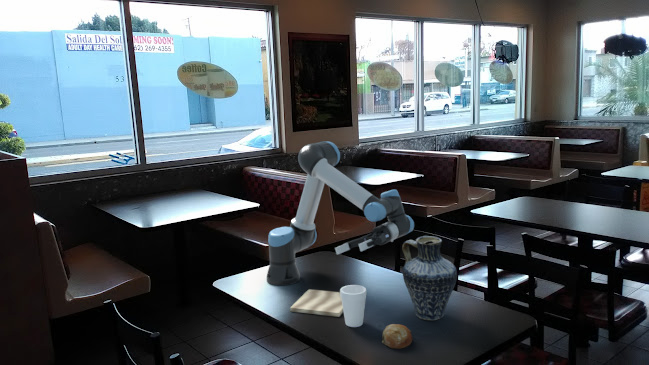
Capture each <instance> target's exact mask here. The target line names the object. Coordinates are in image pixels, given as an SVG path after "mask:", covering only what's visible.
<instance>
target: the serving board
mask: <svg viewBox="0 0 649 365" xmlns="http://www.w3.org/2000/svg"><path fill="white" fill-rule="evenodd" d="M307 289H308V288H307ZM290 312H294V313H304V314H311V315H312V314H313V315H319V316H328V317H338V318H340V317H341V315H342V314H344V311H343V305H342V299H341V296H340V291H331V290H319V289H310V288H309V289H308V290H307V291H305V292H304V293H303V295H302V296H300V297H299V298H298V299H297V300H296V301H295V302H294V303H293V304H292V306H290Z"/></svg>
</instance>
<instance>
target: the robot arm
mask: <svg viewBox="0 0 649 365" xmlns="http://www.w3.org/2000/svg"><path fill="white" fill-rule="evenodd" d="M340 159H341V152H340V150H339V147H338V146H337V145H336V144H335V143H333V142H332V141H325V140H324V141H320V142H314V143H309V144H306V145H304V146H303V147H302V148H301V149H300V150H299V153H298V157H297V160H298V163H299V166H300V168H301V169H302V170H303V171H304V172H305V173H306V174H307V175H306V179H305V182H304V185H303V190H302V193H301V197H300V201H299V205H298V208H297V211H296V215H295V217H293V218H292V219H291V221H290V225H289V226H281V227H276V228H274V229H272V230H270V231H269V233H268V240H267V241H268V242H267V243H268V253H269V254H268V255H269V266H268V270H267V273H266V282H267V283H268V284H270V285H274V286H288V285H293V284H295V283H297V282H299V281H300V280H301V274H300V270H299V268H298V266H297V264H296V253H298V252H302V251H303V250H305V249H308V248H310V247H311V246H312V245H314V243H315V242H316V240H317V237H318V234H317V231H316V223H314V221H315V219H316V215H317V211H318V208H319V205H320V201H321V198H322V193H323V191H324V187H325V185H327V186H328V187H329V188H331V189H333V190H334V191H335V192H337V193H338V194H339V195H341V196H342V197H344V198H345V199H346V200H348V201H349V202H350V203H352V204H353V205H355V206H356V207H357V208H359V209H360V210H361V211H363V214H364V216H365V218H366V219H367V220H368V221H370V222H378V221H382V220H384V219H385V218H387V220H388V221H387V222H385V223H382V224H380V225H378V226H376V227H373V229H372V231H371V233H368V234H367V235H363V236H362V237H361V236H360V237H359V238H356V239H353V240H349V241H347V242H343V244H341V245H338V246H337V247H334V250H335V254H336V255H340V254H342V253H344V252H350V250H351V249H354V248H356V247H359V251H360V252H363V251H366V250H367V249H370V248H372V247H375V246H377V245H379V246H383V245H385V244H388V243H389V242H391V243H393V242H394V240H396V239H398V238H401V237H403V236H406V235H408V234H409V233H411V232H413V230H414V228H415V222H414V220H413V219H412V216H409V215H407V214H406V213H405V208H404V205H403V202H402V199H401V196H400V194H399V192H398V190H397V189H391V190H388V191H387V190H386V191H384V192H382V193H381V194H380V198H378V197H377V196H375V195H374V194H372V193H371V192H370V191H368V190H367V189H365V188H364V187H363V186H361V185H359V184H358V183H357V182H356V181H354V180H352V179H351V178H350V177H348V176H347V175H345V174H344V173H342V172H341V171H340V170H339V169H338V168H335V167H336V165H338V163H339V162H340Z"/></svg>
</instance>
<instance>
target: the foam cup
mask: <svg viewBox="0 0 649 365" xmlns="http://www.w3.org/2000/svg"><path fill="white" fill-rule="evenodd" d="M339 292H340V296H341V299H342V305H343V316H344V322H345V325H346V326H348V327H351V328H357V327H358V328H359V327H361V326H362V325H363V324H364V315H365V306H366V299H367V298H366V297H367V288H366V287H365V286H363V285H361V284H360V285H358V284H350V285H349V284H348V285H345V286H341V288H340V289H339Z"/></svg>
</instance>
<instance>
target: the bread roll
mask: <svg viewBox="0 0 649 365" xmlns="http://www.w3.org/2000/svg"><path fill="white" fill-rule="evenodd" d="M412 333H413V332H412V331H411V330H410V329H409V328H408V327H407V326H406V325H403V324H396V323H392V324H391V323H390V324H388V325H386V326H385V328H384V329H383V331H382V337H381V339H382V341H381V343H382V344H383V345H385V346H386V347H389V348H391V349H395V350H396V349H397V350H398V349H404V348H406V347H408V346H410V345H411V344H412V342H413V336H412V335H413V334H412Z"/></svg>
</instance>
